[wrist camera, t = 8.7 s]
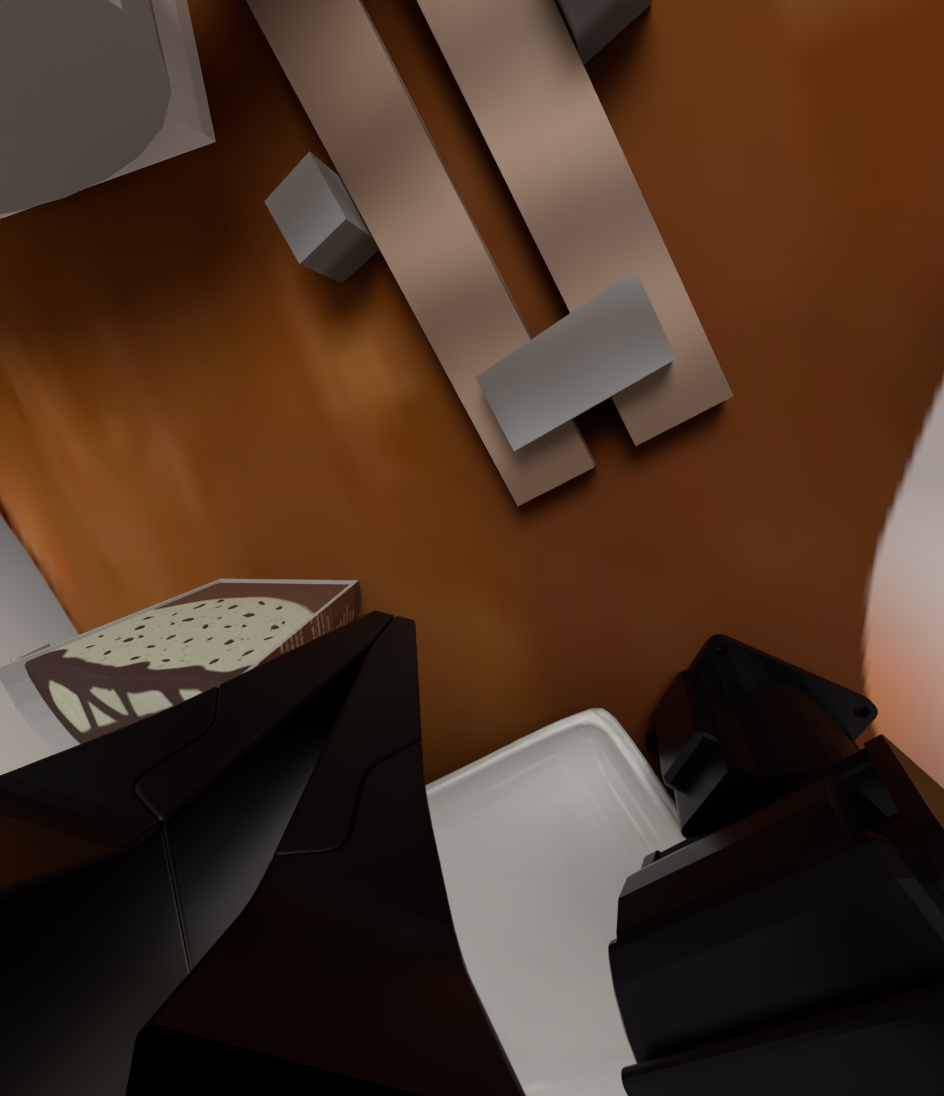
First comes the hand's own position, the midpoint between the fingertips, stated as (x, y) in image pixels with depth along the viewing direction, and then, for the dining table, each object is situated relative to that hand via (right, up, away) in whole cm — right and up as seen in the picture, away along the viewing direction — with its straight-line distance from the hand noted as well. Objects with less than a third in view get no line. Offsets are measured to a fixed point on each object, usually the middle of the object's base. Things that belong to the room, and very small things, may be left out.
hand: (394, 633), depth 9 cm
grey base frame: (+1, +17, +7) cm, 18 cm away
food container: (-8, -3, +17) cm, 19 cm away
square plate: (+5, -22, +19) cm, 29 cm away
